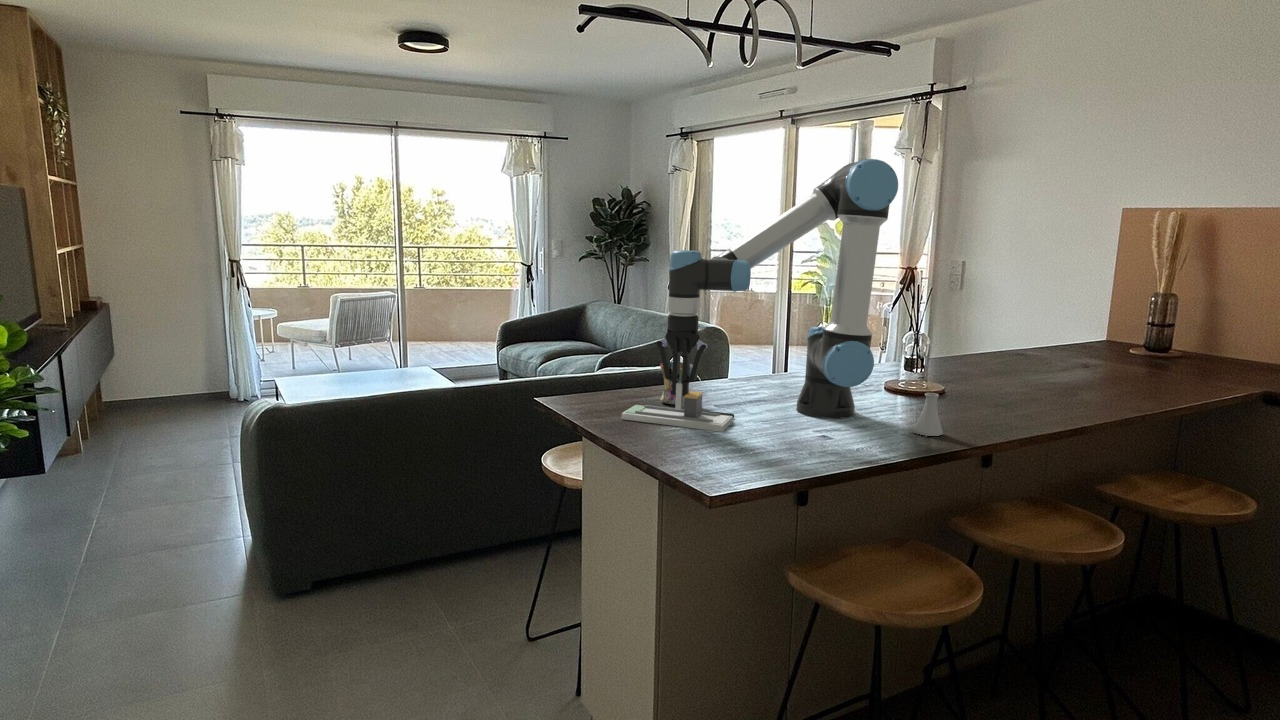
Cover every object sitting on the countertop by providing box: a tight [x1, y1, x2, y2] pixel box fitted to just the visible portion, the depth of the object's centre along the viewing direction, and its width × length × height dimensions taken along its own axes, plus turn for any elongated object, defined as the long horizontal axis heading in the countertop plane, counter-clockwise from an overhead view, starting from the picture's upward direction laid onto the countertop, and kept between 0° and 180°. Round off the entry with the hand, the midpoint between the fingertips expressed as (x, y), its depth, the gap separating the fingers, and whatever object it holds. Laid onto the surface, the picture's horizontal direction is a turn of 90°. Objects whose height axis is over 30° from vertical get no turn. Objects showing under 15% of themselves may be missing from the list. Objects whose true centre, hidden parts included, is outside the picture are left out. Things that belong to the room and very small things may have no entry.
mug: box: [659, 361, 693, 406], centre depth 212 cm, size 12×9×11 cm
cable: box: [657, 405, 735, 419], centre depth 199 cm, size 23×1×1 cm, turn 73°
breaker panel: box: [621, 404, 734, 433], centre depth 192 cm, size 26×10×2 cm, turn 69°
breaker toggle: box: [683, 390, 703, 418], centre depth 190 cm, size 3×5×6 cm, turn 159°
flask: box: [912, 392, 944, 437], centre depth 186 cm, size 7×7×10 cm
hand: (679, 408), depth 192 cm, fingers closed
